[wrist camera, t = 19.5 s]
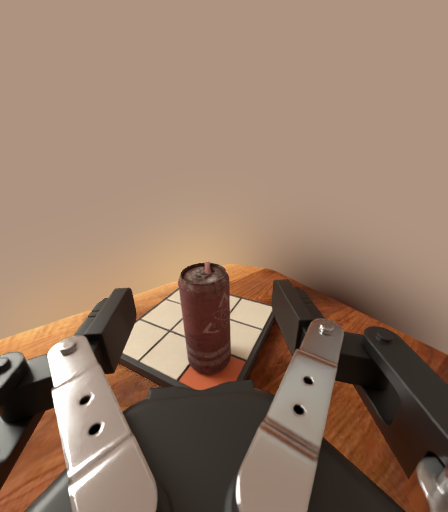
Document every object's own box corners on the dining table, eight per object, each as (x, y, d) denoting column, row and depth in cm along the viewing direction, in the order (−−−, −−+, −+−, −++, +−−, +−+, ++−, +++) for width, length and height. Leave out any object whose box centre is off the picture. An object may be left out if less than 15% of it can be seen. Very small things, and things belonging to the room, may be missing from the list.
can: (228, 339, 36) (226, 258, 30) (232, 374, 30) (231, 282, 24) (190, 342, 35) (180, 261, 30) (186, 378, 30) (174, 286, 24)
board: (103, 354, 36) (100, 346, 35) (186, 288, 54) (185, 281, 53) (226, 421, 26) (226, 411, 26) (277, 313, 44) (278, 306, 43)
